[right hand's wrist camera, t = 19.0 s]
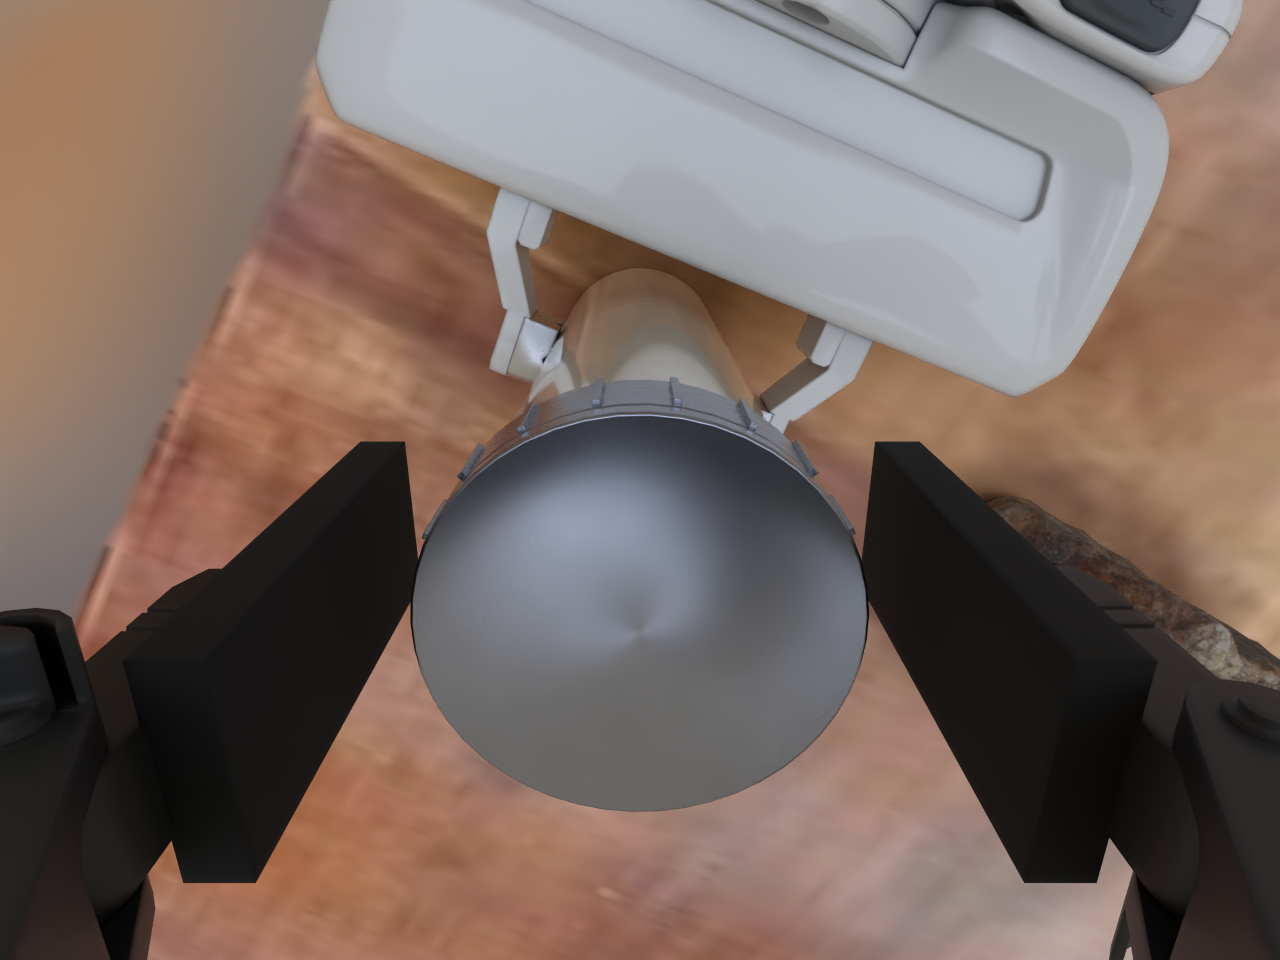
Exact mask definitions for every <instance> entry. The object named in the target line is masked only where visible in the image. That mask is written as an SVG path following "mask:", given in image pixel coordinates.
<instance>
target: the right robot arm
mask: <svg viewBox="0 0 1280 960" xmlns="http://www.w3.org/2000/svg"><path fill="white" fill-rule="evenodd" d="M417 562H418V555H417V546H416V537H415V528H414V519H413V510H412V501H411V492H410V483H409V474H408V466H407V457H406V448H405V442H360V443H359V444H357V445H356V446H355V447H354V448H353V449H352V450H351V451H350V452H349V453H348V454H347V455H346V456H344V457H343V458H342V459H341V460H340V461H339V462H338V463H337V464H336V465H335V466H334V467H332V468H331V469H330V470H329V471H328V472H327V473H326V474H325V475H324V476H323V477H322V478H320V479H319V480H318V481H317V482H316V483H315V484H314V485H313V486H312V487H311V488H310V489H309V490H307V491H306V492H305V493H304V494H303V495H302V496H301V497H300V498H299V499H298V500H297V501H295V502H294V503H293V504H292V505H291V506H290V507H289V508H288V509H287V510H286V511H285V512H283V513H282V514H281V515H280V516H279V517H278V518H277V519H276V520H275V521H274V522H273V523H272V524H270V525H269V526H268V527H267V528H266V529H265V530H264V531H263V532H262V533H261V534H260V535H258V536H257V537H256V538H255V539H254V540H253V541H252V542H251V543H250V544H249V545H248V546H247V547H245V548H244V549H243V550H242V551H241V552H240V553H239V554H238V555H237V556H236V557H235V558H233V559H232V560H231V561H230V562H229V563H228V564H227V565H226V566H225V567H224V568H223V569H207V570H205V571H203V572H201V573H199V574H197V575H195V576H194V577H192V578H190V579H188V580H186V581H184V582H182V583H180V584H178V585H176V586H174V587H172V588H171V589H170V590H168V591H167V592H166V593H165V594H164V595H163V596H161V597H160V598H159V599H158V600H157V601H156V602H154V603H153V604H152V605H151V606H150V607H149V608H148V609H147V613H142V614H141V615H139V616H138V617H137V618H136V619H135V620H134V621H132V622H131V623H130V624H129V625H128V626H127V627H126V628H127V629H126V631H121V632H120V633H118V634H117V635H116V636H115V637H114V638H113V639H111V640H110V641H109V642H108V643H107V644H106V645H104V646H103V647H102V648H101V649H100V650H99V651H98V652H96V653H95V654H94V655H93V656H92V657H91V658H89V659H88V660H87V661H86V662H85V661H84V658H83V654H82V651H81V648H80V644H79V641H78V637H77V634H76V631H75V627H74V624H73V621H72V618H71V617H69V616H68V615H66V614H64V613H63V612H61V611H59V610H51V609H41V608H31V609H20V610H10V611H3V612H0V960H147V956H148V950H149V944H150V938H151V932H152V926H153V920H154V914H155V903H154V896H153V890H152V887H151V884H150V880H149V877H148V873H149V871H150V870H151V868H152V867H153V866H154V864H155V863H156V861H157V860H158V859H159V857H160V856H161V854H162V853H163V852H164V850H165V849H166V847H167V846H168V845H169V843H170V842H171V840H172V844H173V847H174V851H175V854H176V858H177V862H178V865H179V869H180V872H181V876H182V880H183V883H256V881H257V880H258V878H259V876H260V874H261V872H262V871H263V869H264V867H265V865H266V863H267V861H268V860H269V858H270V856H271V854H272V852H273V851H274V849H275V847H276V845H277V843H278V841H279V840H280V838H281V836H282V834H283V832H284V831H285V829H286V827H287V825H288V823H289V822H290V820H291V818H292V816H293V814H294V812H295V811H296V809H297V807H298V805H299V803H300V802H301V800H302V798H303V796H304V794H305V792H306V791H307V789H308V787H309V785H310V783H311V782H312V780H313V778H314V776H315V774H316V772H317V771H318V769H319V767H320V765H321V763H322V762H323V760H324V758H325V756H326V754H327V752H328V751H329V749H330V747H331V745H332V743H333V742H334V740H335V738H336V736H337V734H338V733H339V731H340V729H341V727H342V725H343V723H344V722H345V720H346V718H347V716H348V714H349V713H350V711H351V709H352V707H353V705H354V703H355V702H356V700H357V698H358V696H359V694H360V693H361V691H362V689H363V687H364V685H365V683H366V682H367V680H368V678H369V676H370V674H371V673H372V671H373V669H374V667H375V665H376V663H377V662H378V660H379V658H380V656H381V654H382V653H383V651H384V649H385V647H386V645H387V643H388V642H389V640H390V638H391V636H392V634H393V633H394V631H395V629H396V627H397V625H398V624H399V622H400V620H401V618H402V616H403V614H404V613H405V611H406V609H407V607H408V605H409V604H410V602H411V592H412V585H413V579H414V573H415V568H416V565H417ZM862 564H863V569H864V574H865V578H866V583H867V588H868V600H869V602H870V604H871V605H872V607H873V609H874V611H875V613H876V614H877V616H878V618H879V620H880V622H881V624H882V625H883V627H884V629H885V631H886V633H887V634H888V636H889V638H890V640H891V642H892V643H893V645H894V647H895V649H896V651H897V653H898V654H899V656H900V658H901V660H902V662H903V663H904V665H905V667H906V669H907V671H908V673H909V674H910V676H911V678H912V680H913V682H914V683H915V685H916V687H917V689H918V691H919V693H920V694H921V696H922V698H923V700H924V702H925V703H926V705H927V707H928V709H929V711H930V713H931V714H932V716H933V718H934V720H935V722H936V723H937V725H938V727H939V729H940V731H941V733H942V734H943V736H944V738H945V740H946V742H947V743H948V745H949V747H950V749H951V751H952V752H953V754H954V756H955V758H956V760H957V762H958V763H959V765H960V767H961V769H962V771H963V772H964V774H965V776H966V778H967V780H968V782H969V783H970V785H971V787H972V789H973V791H974V792H975V794H976V796H977V798H978V800H979V802H980V803H981V805H982V807H983V809H984V811H985V812H986V814H987V816H988V818H989V820H990V822H991V823H992V825H993V827H994V829H995V831H996V832H997V834H998V836H999V838H1000V840H1001V841H1002V843H1003V845H1004V847H1005V849H1006V851H1007V852H1008V854H1009V856H1010V858H1011V860H1012V861H1013V863H1014V865H1015V867H1016V869H1017V871H1018V872H1019V874H1020V876H1021V878H1022V880H1023V881H1024V883H1097V880H1098V876H1099V872H1100V869H1101V865H1102V862H1103V858H1104V854H1105V851H1106V847H1107V844H1108V840H1109V838H1110V839H1111V840H1112V842H1113V843H1114V844H1115V846H1116V847H1117V849H1118V850H1119V851H1120V853H1121V854H1122V856H1123V857H1124V858H1125V860H1126V861H1127V863H1128V864H1129V865H1130V867H1131V868H1132V869H1133V874H1132V877H1131V880H1130V884H1129V887H1128V890H1127V894H1126V897H1125V901H1124V904H1123V907H1122V911H1121V914H1120V917H1119V921H1118V924H1117V927H1116V931H1115V934H1114V938H1113V941H1112V944H1111V950H1110V957H1109V960H1123V959H1124V956H1125V953H1126V949H1127V948H1129V947H1131V948H1132V954H1133V960H1280V690H1276V689H1273V688H1269V687H1266V686H1262V685H1258V684H1255V683H1251V682H1243V681H1234V680H1225V679H1219V678H1218V677H1216V676H1215V675H1214V674H1213V673H1212V672H1211V671H1209V670H1208V669H1207V668H1206V667H1205V666H1204V665H1202V664H1201V663H1200V662H1199V661H1198V660H1196V659H1195V658H1194V657H1193V656H1192V655H1191V654H1189V653H1188V652H1187V651H1186V650H1185V649H1184V648H1182V647H1181V646H1180V645H1179V644H1178V643H1177V642H1175V641H1174V640H1173V639H1172V638H1171V637H1170V636H1168V635H1167V634H1166V633H1165V632H1164V631H1162V630H1161V629H1160V628H1155V627H1154V623H1153V622H1152V621H1151V620H1150V619H1148V618H1147V617H1146V616H1145V615H1144V614H1143V613H1141V612H1140V611H1139V610H1134V609H1133V605H1132V604H1131V603H1130V602H1128V601H1127V600H1126V599H1125V598H1124V597H1123V596H1121V595H1120V594H1119V593H1118V592H1117V591H1116V590H1114V589H1113V588H1112V587H1111V586H1110V585H1109V584H1107V583H1105V582H1103V581H1101V580H1099V579H1097V578H1095V577H1093V576H1091V575H1089V574H1087V573H1085V572H1083V571H1081V570H1079V569H1077V568H1075V567H1073V566H1054V565H1053V564H1052V563H1051V562H1050V561H1049V560H1048V559H1047V558H1045V557H1044V556H1043V555H1042V554H1041V553H1040V552H1039V551H1038V550H1037V549H1036V548H1035V547H1034V546H1032V545H1031V544H1030V543H1029V542H1028V541H1027V540H1026V539H1025V538H1024V537H1023V536H1022V535H1020V534H1019V533H1018V532H1017V531H1016V530H1015V529H1014V528H1013V527H1012V526H1011V525H1010V524H1008V523H1007V522H1006V521H1005V520H1004V519H1003V518H1002V517H1001V516H1000V515H999V514H998V513H997V512H995V511H994V510H993V509H992V508H991V507H990V506H989V505H988V504H987V503H986V502H985V501H983V500H982V499H981V498H980V497H979V496H978V495H977V494H976V493H975V492H974V491H973V490H971V489H970V488H969V487H968V486H967V485H966V484H965V483H964V482H963V481H962V480H961V479H960V478H958V477H957V476H956V475H955V474H954V473H953V472H952V471H951V470H950V469H949V468H948V467H946V466H945V465H944V464H943V463H942V462H941V461H940V460H939V459H938V458H937V457H936V456H934V455H933V454H932V453H931V452H930V451H929V450H928V449H927V448H926V447H925V446H924V445H923V444H921V443H920V442H875V448H874V457H873V466H872V474H871V483H870V492H869V501H868V510H867V519H866V528H865V537H864V546H863V555H862Z"/></svg>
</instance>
